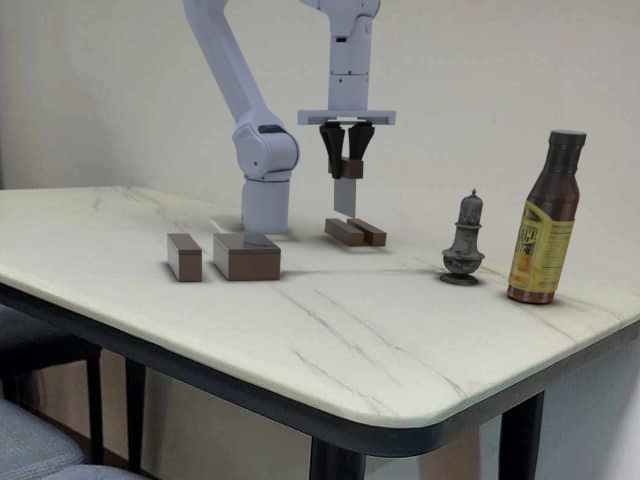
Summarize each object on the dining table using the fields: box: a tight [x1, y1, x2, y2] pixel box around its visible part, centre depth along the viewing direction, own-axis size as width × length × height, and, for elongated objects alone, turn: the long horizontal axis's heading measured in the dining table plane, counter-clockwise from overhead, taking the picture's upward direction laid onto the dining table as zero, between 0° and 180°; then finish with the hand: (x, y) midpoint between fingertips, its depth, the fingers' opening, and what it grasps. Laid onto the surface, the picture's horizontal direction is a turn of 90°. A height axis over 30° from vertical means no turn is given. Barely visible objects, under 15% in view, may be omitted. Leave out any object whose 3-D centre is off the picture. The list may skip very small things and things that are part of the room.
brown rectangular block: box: [166, 232, 203, 282], centre depth 97 cm, size 10×3×4 cm, turn 16°
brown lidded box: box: [212, 232, 282, 282], centre depth 99 cm, size 10×7×4 cm
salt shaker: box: [439, 188, 486, 286], centre depth 99 cm, size 6×6×12 cm
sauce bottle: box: [506, 128, 588, 304], centre depth 90 cm, size 6×6×20 cm
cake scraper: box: [327, 155, 365, 219], centre depth 110 cm, size 10×2×8 cm, turn 15°
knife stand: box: [324, 217, 388, 248], centre depth 118 cm, size 12×6×3 cm, turn 16°
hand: (344, 178), depth 110 cm, fingers closed on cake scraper, 2 cm apart
